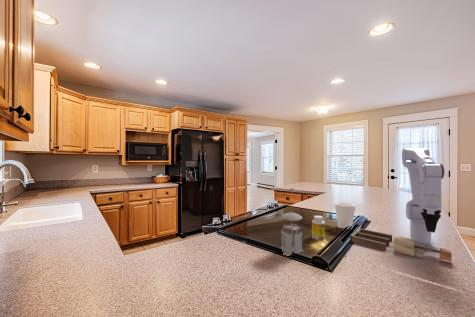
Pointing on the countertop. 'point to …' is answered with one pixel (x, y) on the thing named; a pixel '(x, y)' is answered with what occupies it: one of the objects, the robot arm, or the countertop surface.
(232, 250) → the countertop surface
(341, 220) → the foam cup
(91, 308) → the countertop surface
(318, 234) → the supplement bottle
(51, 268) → the countertop surface
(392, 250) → the lane shelf
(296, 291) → the countertop surface
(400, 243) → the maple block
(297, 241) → the french press
